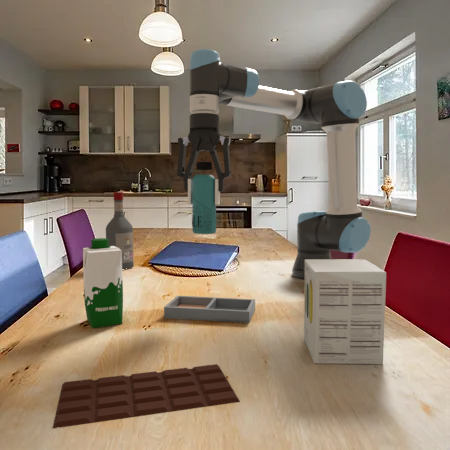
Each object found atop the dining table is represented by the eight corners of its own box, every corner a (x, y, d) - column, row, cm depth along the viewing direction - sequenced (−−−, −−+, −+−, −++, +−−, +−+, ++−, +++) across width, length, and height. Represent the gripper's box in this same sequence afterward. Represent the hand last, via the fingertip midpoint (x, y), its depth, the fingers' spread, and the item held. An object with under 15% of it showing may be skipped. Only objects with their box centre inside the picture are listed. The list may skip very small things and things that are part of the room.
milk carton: (118, 314, 111) (115, 237, 109) (127, 324, 103) (124, 241, 101) (82, 319, 107) (79, 239, 105) (89, 330, 99) (86, 244, 97)
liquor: (137, 267, 173) (135, 192, 170) (120, 271, 165) (117, 192, 162) (120, 265, 178) (118, 191, 175) (103, 268, 170) (101, 192, 167)
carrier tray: (255, 309, 114) (255, 299, 114) (249, 323, 103) (249, 311, 103) (177, 305, 119) (177, 295, 118) (164, 318, 108) (163, 307, 107)
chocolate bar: (52, 431, 60) (52, 424, 60) (62, 386, 73) (62, 381, 72) (239, 404, 67) (239, 398, 66) (218, 368, 80) (218, 362, 79)
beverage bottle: (220, 237, 115) (220, 162, 114) (211, 240, 109) (211, 160, 107) (197, 236, 118) (197, 162, 116) (187, 239, 111) (187, 160, 110)
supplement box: (302, 338, 93) (303, 258, 92) (364, 339, 93) (366, 258, 91) (313, 364, 80) (314, 271, 78) (384, 365, 80) (388, 271, 78)
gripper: (163, 112, 109) (163, 204, 111) (239, 110, 105) (238, 205, 107) (172, 117, 116) (172, 203, 118) (244, 115, 112) (243, 204, 114)
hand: (204, 204), depth 113 cm, fingers closed on beverage bottle, 6 cm apart
